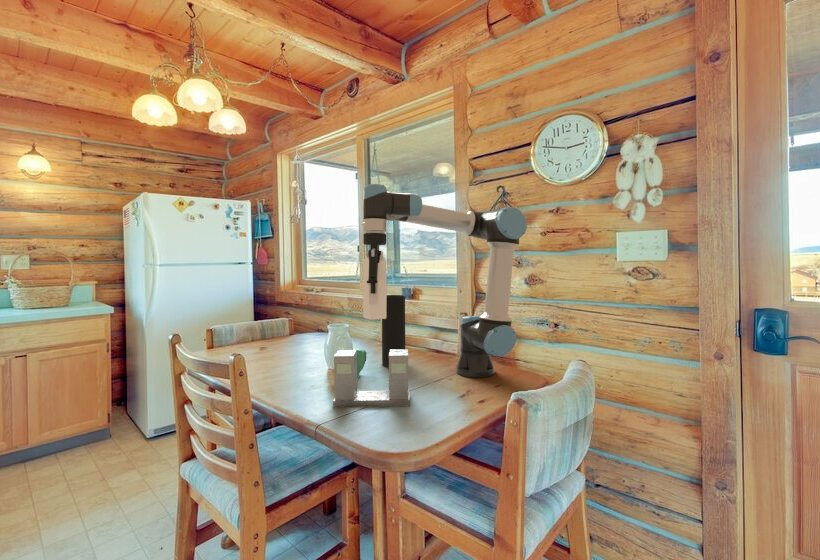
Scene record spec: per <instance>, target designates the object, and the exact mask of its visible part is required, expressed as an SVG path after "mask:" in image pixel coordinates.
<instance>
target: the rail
mask: <svg viewBox="0 0 820 560" xmlns="http://www.w3.org/2000/svg"><path fill="white" fill-rule="evenodd" d="M357 350H358V349H338V350H337V352H336V353H335V354H334V356H333V363H334V366H333V367H334V368H333V369H334V373H333V375H334V376H333V377H334V399H333V400H332V407H333V408H361V407H362V408H364V407H365V408H366V407H367V408H370V407H371V408H373V407H375V408H376V407H379V408H380V407H382V408H384V407H411V394H410V390H409V349H406V348H405V349H396V350H390V351H389V367H388V390H358V379H357Z"/></svg>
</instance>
